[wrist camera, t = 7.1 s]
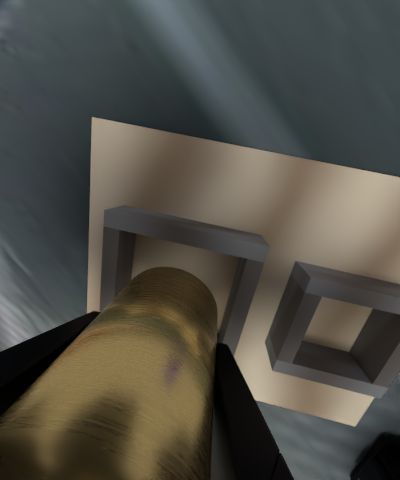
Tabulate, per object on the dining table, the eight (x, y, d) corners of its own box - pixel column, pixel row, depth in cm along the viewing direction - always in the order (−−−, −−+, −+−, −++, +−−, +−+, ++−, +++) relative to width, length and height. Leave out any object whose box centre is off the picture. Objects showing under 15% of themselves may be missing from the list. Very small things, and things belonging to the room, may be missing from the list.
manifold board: (467, 196, 10) (586, 202, 7) (342, 403, 15) (376, 466, 12) (108, 125, 11) (60, 101, 8) (98, 339, 16) (65, 380, 13)
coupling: (228, 280, 8) (238, 490, 3) (206, 359, 10) (182, 612, 4) (126, 256, 9) (-66, 399, 3) (119, 337, 10) (-21, 544, 4)
